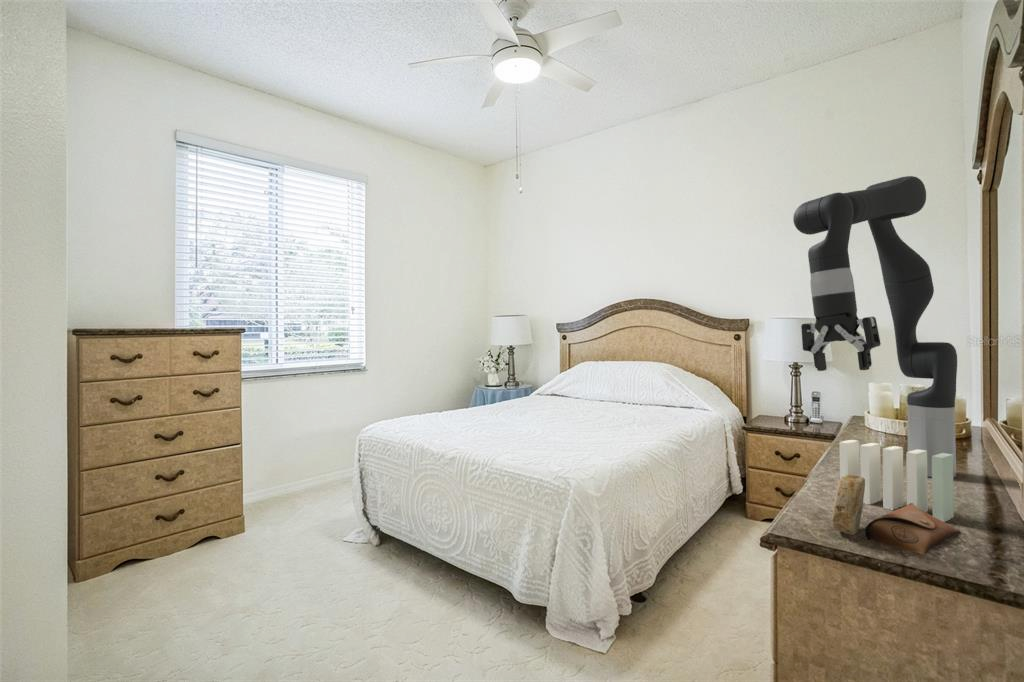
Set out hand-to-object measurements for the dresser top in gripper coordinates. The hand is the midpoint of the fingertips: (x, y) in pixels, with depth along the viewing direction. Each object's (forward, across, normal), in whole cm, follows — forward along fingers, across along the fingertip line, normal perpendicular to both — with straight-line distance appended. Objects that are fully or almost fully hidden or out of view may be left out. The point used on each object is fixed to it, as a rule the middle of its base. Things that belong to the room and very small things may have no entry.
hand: (842, 370), depth 102 cm
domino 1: (+28, +4, -4) cm, 29 cm away
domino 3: (+29, -4, -5) cm, 29 cm away
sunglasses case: (+29, -13, +8) cm, 33 cm away
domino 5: (+29, -12, -6) cm, 32 cm away
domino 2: (+28, 0, -4) cm, 29 cm away
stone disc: (+27, -7, +17) cm, 33 cm away
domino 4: (+29, -8, -5) cm, 30 cm away
